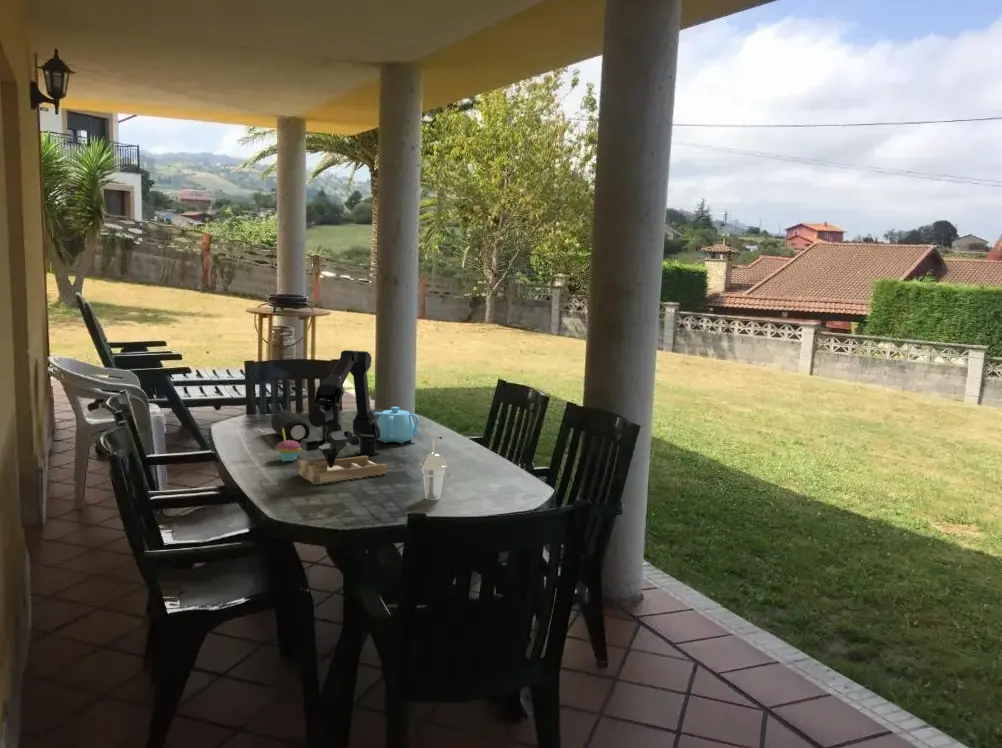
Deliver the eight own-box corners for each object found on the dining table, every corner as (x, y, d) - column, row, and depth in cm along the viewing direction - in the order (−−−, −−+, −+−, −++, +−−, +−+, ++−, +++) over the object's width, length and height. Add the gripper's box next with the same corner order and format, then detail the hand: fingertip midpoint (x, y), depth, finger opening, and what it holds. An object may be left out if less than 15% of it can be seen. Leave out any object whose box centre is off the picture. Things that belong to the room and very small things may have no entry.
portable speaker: (311, 444, 306) (311, 419, 304) (285, 447, 301) (285, 421, 299) (294, 431, 328) (293, 407, 326) (269, 433, 323) (269, 409, 321)
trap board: (298, 474, 262) (298, 460, 262) (367, 465, 277) (367, 451, 276) (315, 485, 251) (315, 469, 251) (386, 474, 266) (386, 459, 265)
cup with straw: (447, 494, 245) (448, 430, 243) (446, 503, 236) (447, 437, 234) (419, 493, 245) (420, 429, 242) (417, 502, 236) (418, 436, 233)
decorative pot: (404, 435, 327) (405, 402, 325) (422, 442, 313) (423, 408, 312) (367, 438, 318) (367, 405, 316) (384, 447, 305) (384, 412, 303)
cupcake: (276, 463, 276) (275, 429, 274) (276, 457, 284) (275, 424, 282) (301, 462, 278) (301, 429, 276) (301, 456, 286) (300, 424, 285)
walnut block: (308, 471, 259) (308, 459, 259) (321, 469, 262) (321, 457, 261) (314, 474, 256) (313, 462, 255) (327, 472, 258) (327, 460, 258)
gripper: (313, 428, 247) (313, 477, 249) (367, 422, 258) (367, 469, 260) (299, 422, 256) (299, 469, 258) (352, 416, 267) (352, 461, 269)
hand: (330, 467), depth 261 cm, fingers closed
